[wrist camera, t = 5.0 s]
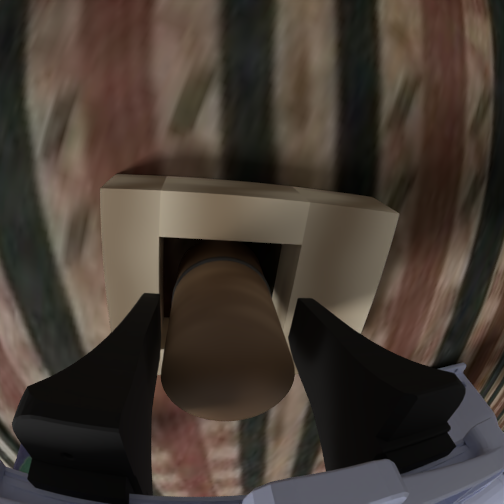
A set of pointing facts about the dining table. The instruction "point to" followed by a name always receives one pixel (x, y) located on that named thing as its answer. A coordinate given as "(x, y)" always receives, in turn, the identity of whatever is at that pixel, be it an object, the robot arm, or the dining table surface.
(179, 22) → the dining table surface
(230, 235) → the board
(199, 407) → the peg
